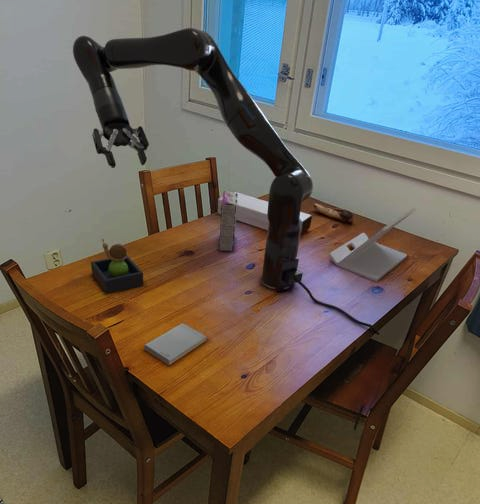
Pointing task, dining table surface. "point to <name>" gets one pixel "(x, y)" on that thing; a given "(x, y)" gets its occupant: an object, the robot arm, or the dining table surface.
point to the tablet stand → (369, 254)
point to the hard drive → (175, 343)
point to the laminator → (258, 212)
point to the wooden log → (335, 213)
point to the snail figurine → (116, 259)
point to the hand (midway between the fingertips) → (129, 165)
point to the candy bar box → (228, 221)
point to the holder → (116, 283)
